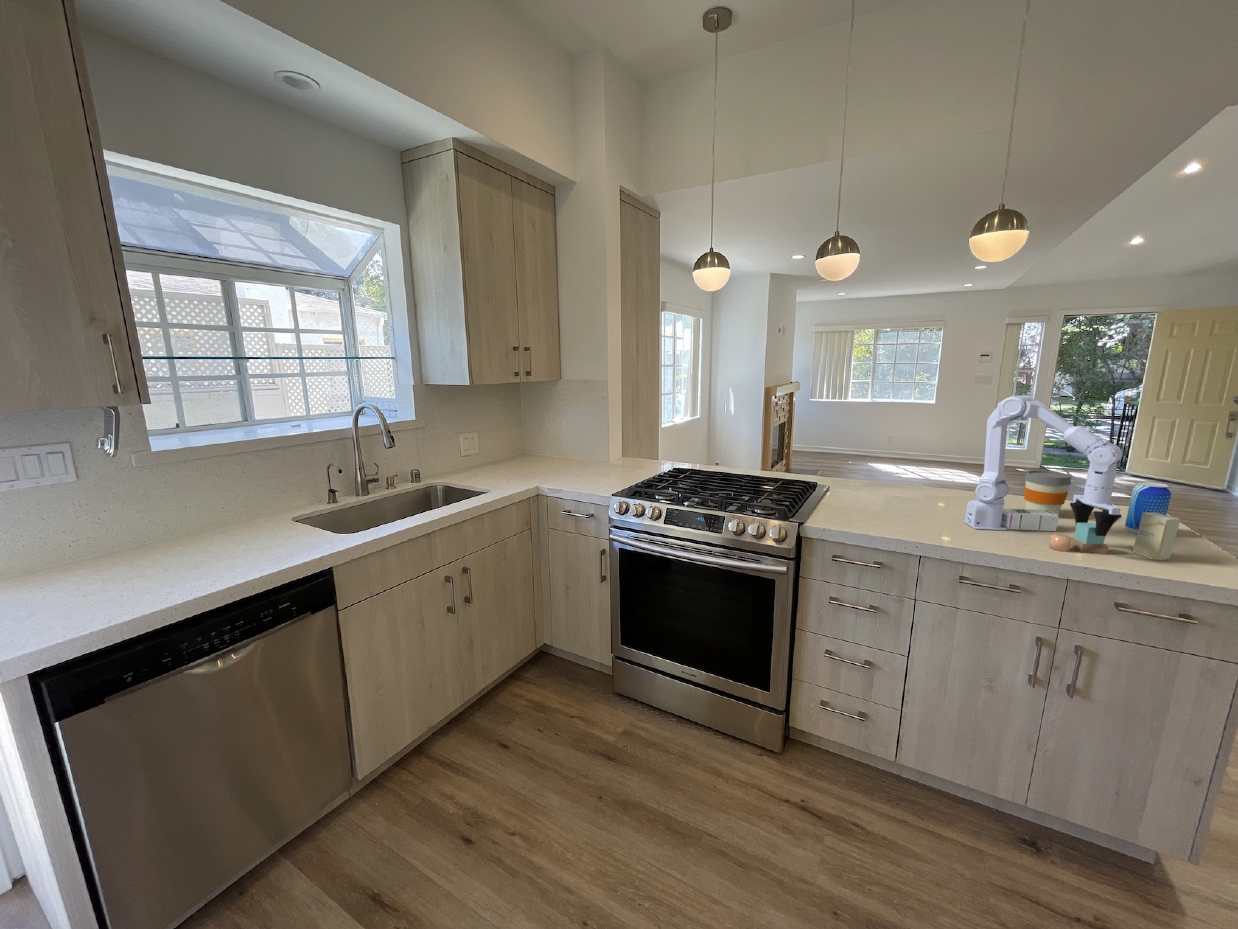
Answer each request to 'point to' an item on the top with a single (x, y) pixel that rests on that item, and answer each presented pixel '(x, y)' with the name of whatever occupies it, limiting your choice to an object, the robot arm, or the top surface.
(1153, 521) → the skincare box
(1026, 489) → the reusable coffee cup
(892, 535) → the top surface
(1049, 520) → the syrup box
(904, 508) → the top surface
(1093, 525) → the teal block
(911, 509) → the top surface
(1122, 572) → the top surface
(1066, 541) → the peach round piece
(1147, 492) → the beer can
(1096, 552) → the walnut block
